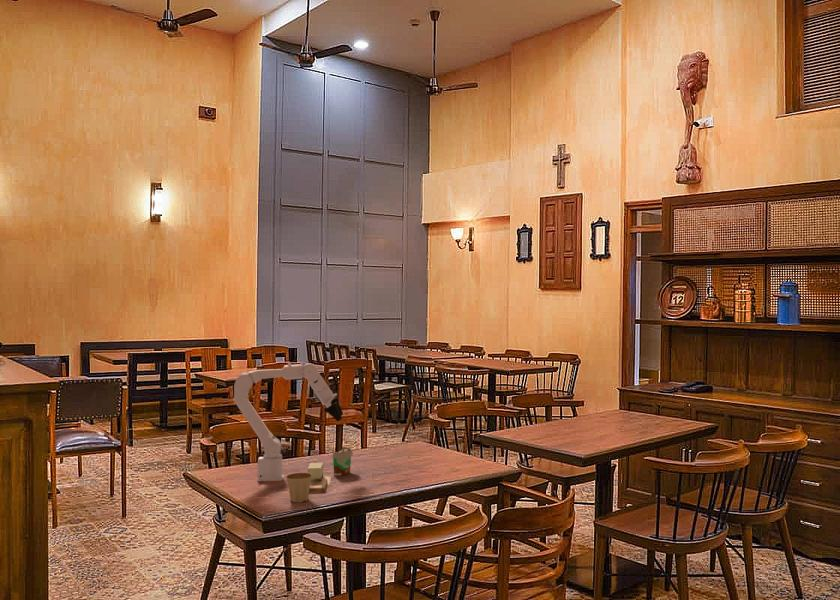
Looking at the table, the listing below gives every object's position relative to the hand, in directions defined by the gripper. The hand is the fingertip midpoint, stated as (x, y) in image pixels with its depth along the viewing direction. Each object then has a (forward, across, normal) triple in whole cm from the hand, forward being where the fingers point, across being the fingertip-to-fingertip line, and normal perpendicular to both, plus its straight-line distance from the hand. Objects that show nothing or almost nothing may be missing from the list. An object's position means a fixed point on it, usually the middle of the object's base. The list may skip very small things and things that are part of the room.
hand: (340, 417), depth 281 cm
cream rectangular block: (+14, -8, +20) cm, 26 cm away
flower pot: (+11, -34, +22) cm, 43 cm away
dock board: (+14, -15, +20) cm, 29 cm away
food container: (+21, 0, +11) cm, 24 cm away
